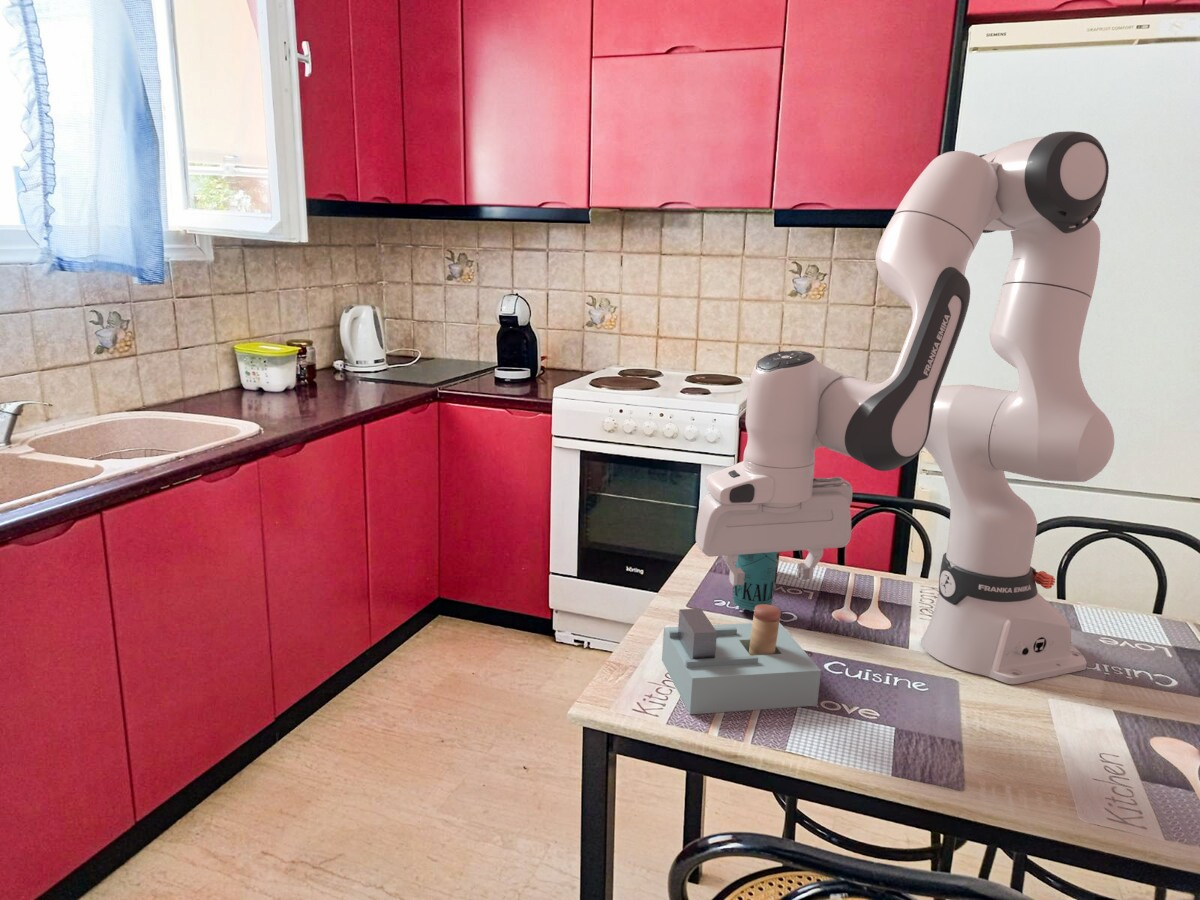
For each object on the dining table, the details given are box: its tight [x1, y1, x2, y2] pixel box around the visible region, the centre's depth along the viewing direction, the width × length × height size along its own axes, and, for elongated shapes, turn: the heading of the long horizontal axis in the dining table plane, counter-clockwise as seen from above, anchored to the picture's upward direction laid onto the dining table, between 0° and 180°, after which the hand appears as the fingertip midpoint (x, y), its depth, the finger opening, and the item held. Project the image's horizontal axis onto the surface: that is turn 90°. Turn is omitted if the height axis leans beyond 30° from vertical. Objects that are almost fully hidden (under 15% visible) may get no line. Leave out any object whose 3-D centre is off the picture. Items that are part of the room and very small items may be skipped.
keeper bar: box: [677, 608, 717, 660], centre depth 111 cm, size 3×7×4 cm, turn 10°
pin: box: [749, 604, 782, 656], centre depth 113 cm, size 3×3×10 cm
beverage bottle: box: [732, 552, 777, 612], centre depth 133 cm, size 6×7×20 cm
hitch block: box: [661, 621, 822, 715], centre depth 113 cm, size 17×14×6 cm
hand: (770, 580), depth 111 cm, fingers open, 8 cm apart
